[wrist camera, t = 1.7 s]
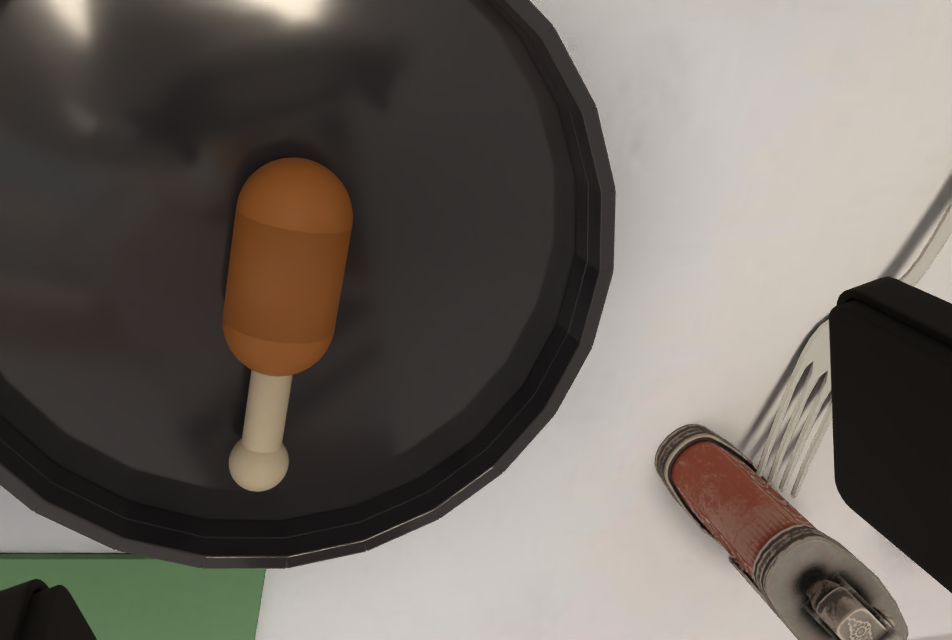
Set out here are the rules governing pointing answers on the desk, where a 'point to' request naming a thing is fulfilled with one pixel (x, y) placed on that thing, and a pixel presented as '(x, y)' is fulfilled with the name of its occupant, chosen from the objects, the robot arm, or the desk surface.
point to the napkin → (147, 595)
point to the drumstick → (282, 298)
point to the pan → (365, 278)
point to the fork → (828, 377)
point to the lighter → (776, 543)
